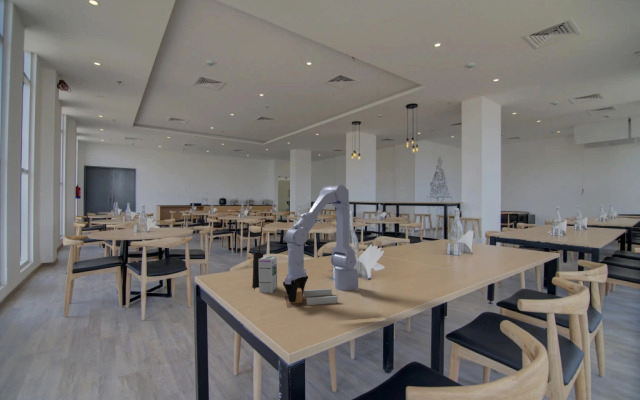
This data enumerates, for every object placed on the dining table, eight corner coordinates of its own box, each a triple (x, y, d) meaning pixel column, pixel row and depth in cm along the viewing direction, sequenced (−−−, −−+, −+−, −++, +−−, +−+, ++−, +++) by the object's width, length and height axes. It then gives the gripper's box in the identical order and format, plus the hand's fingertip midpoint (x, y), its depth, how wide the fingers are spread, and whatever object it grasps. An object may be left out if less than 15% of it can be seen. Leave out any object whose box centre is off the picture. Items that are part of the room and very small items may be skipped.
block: (300, 298, 111) (300, 287, 111) (302, 302, 106) (302, 291, 106) (288, 299, 110) (288, 288, 110) (289, 303, 106) (289, 292, 106)
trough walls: (331, 294, 116) (331, 288, 116) (337, 302, 106) (337, 296, 106) (303, 296, 114) (303, 290, 114) (307, 305, 104) (307, 298, 104)
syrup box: (272, 295, 117) (272, 259, 117) (258, 294, 119) (258, 258, 119) (277, 291, 123) (277, 256, 123) (264, 290, 124) (263, 255, 124)
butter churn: (243, 291, 124) (242, 223, 124) (246, 284, 133) (246, 222, 133) (265, 290, 124) (265, 223, 124) (267, 283, 134) (267, 221, 134)
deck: (330, 295, 117) (330, 293, 117) (338, 306, 105) (338, 303, 105) (284, 299, 113) (284, 296, 113) (287, 310, 101) (287, 307, 101)
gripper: (298, 266, 100) (298, 306, 100) (313, 258, 114) (313, 293, 114) (279, 265, 102) (279, 304, 102) (296, 257, 116) (296, 292, 116)
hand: (296, 298), depth 108 cm, fingers closed on block, 6 cm apart
